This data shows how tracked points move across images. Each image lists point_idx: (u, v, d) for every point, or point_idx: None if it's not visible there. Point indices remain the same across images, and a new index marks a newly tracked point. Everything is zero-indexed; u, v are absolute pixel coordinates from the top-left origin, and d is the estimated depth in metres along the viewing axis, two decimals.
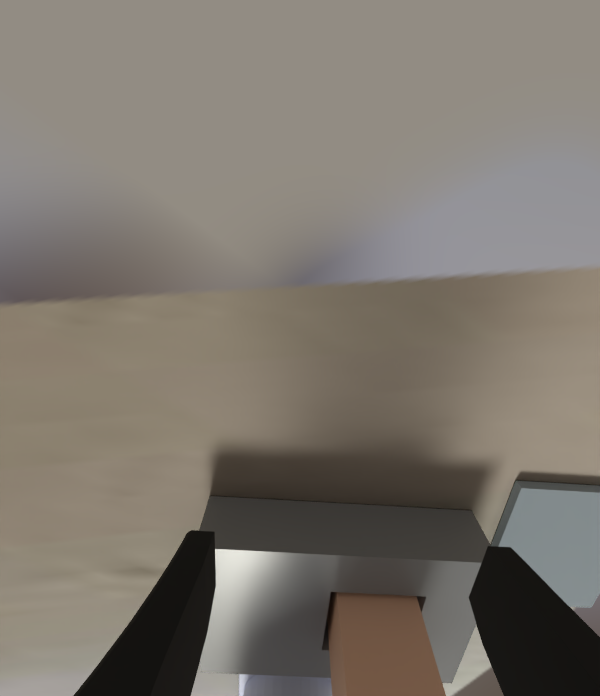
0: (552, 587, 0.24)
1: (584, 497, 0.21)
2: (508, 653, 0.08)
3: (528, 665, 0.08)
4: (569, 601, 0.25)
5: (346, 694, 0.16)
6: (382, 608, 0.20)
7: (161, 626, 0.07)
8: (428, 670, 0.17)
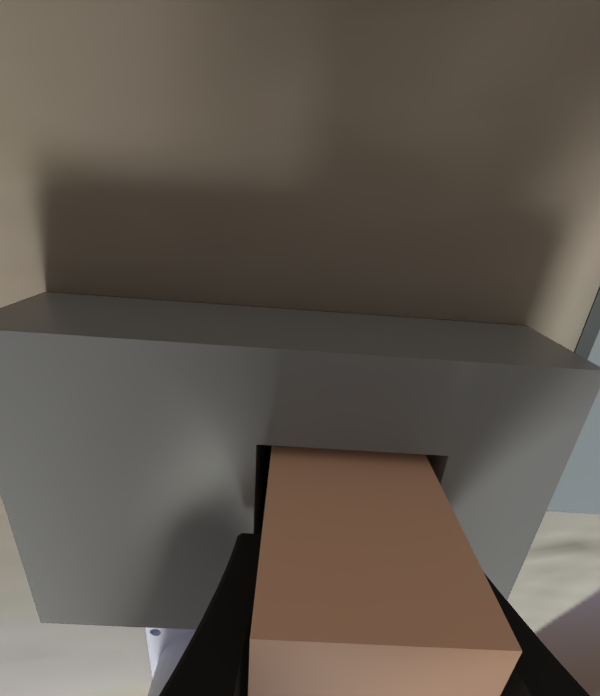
0: None
1: None
2: None
3: None
4: None
5: (252, 627, 0.06)
6: (360, 476, 0.10)
7: (231, 629, 0.07)
8: (463, 578, 0.07)
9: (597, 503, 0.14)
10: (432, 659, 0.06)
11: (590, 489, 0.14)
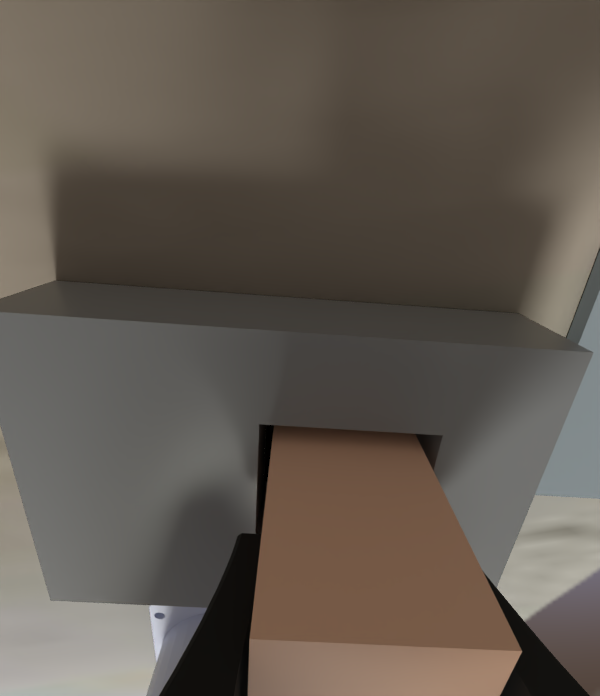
0: None
1: None
2: None
3: None
4: None
5: (252, 627, 0.06)
6: (360, 476, 0.10)
7: (231, 629, 0.07)
8: (462, 578, 0.07)
9: (588, 487, 0.15)
10: (432, 659, 0.06)
11: (582, 474, 0.15)
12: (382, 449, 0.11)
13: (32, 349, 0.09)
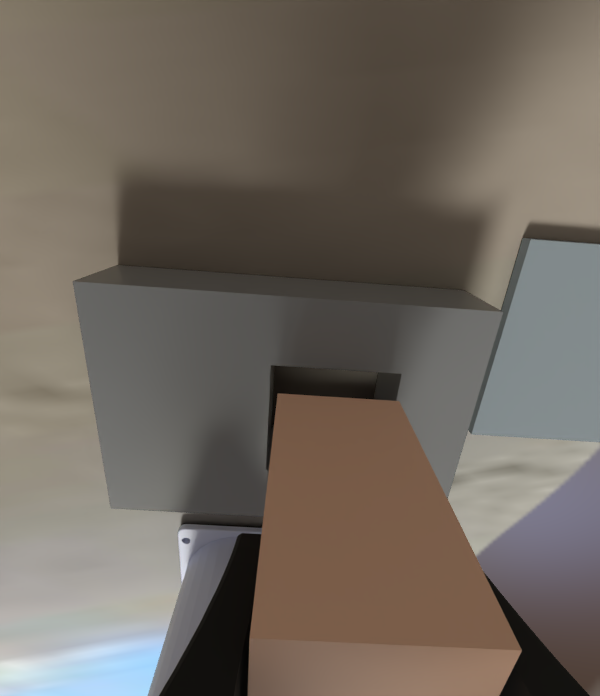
0: (569, 410, 0.19)
1: None
2: None
3: None
4: (590, 433, 0.19)
5: (252, 626, 0.06)
6: (360, 475, 0.10)
7: (231, 629, 0.07)
8: (462, 578, 0.07)
9: (525, 428, 0.19)
10: (432, 658, 0.06)
11: (519, 417, 0.19)
12: (382, 448, 0.11)
13: (114, 309, 0.14)
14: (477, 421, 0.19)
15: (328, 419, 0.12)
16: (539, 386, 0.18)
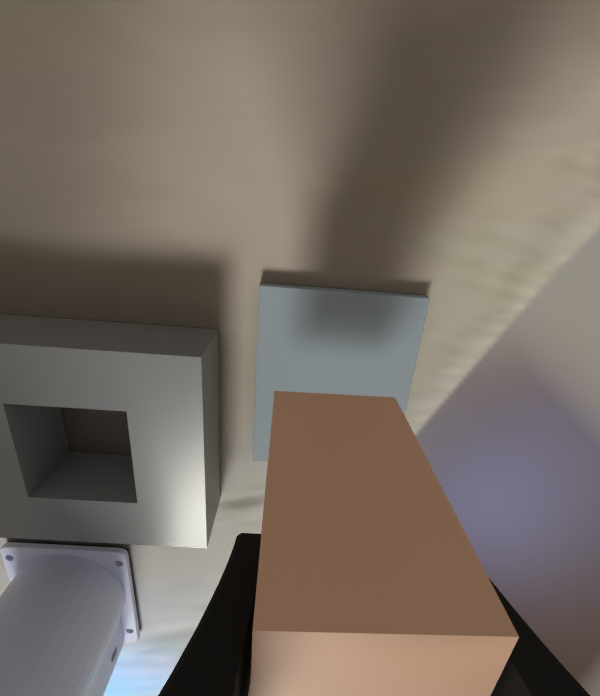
0: None
1: (341, 300, 0.17)
2: None
3: None
4: None
5: (254, 619, 0.06)
6: (357, 470, 0.10)
7: (230, 629, 0.07)
8: (460, 568, 0.07)
9: None
10: (431, 646, 0.06)
11: None
12: (380, 444, 0.11)
13: None
14: (255, 448, 0.20)
15: (325, 416, 0.12)
16: None
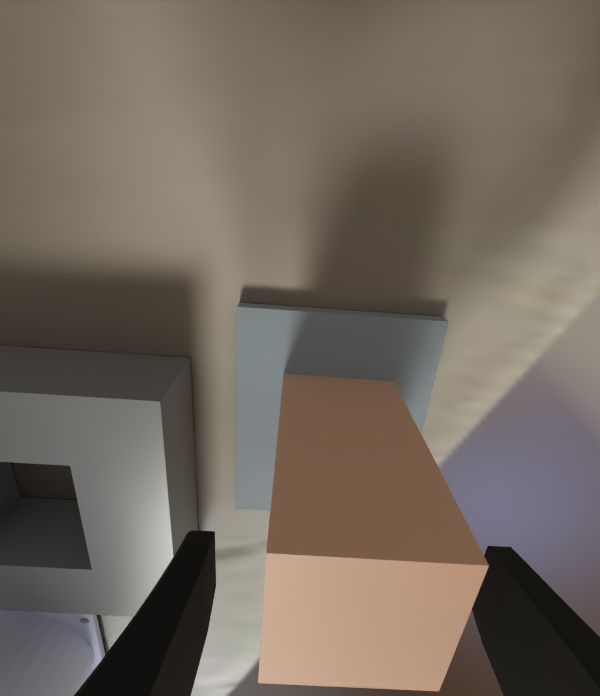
0: None
1: (338, 324, 0.14)
2: (508, 653, 0.08)
3: (528, 665, 0.08)
4: None
5: None
6: (357, 439, 0.11)
7: (161, 626, 0.07)
8: (443, 515, 0.08)
9: None
10: (415, 573, 0.07)
11: None
12: (378, 419, 0.12)
13: None
14: (237, 495, 0.17)
15: (329, 395, 0.13)
16: None
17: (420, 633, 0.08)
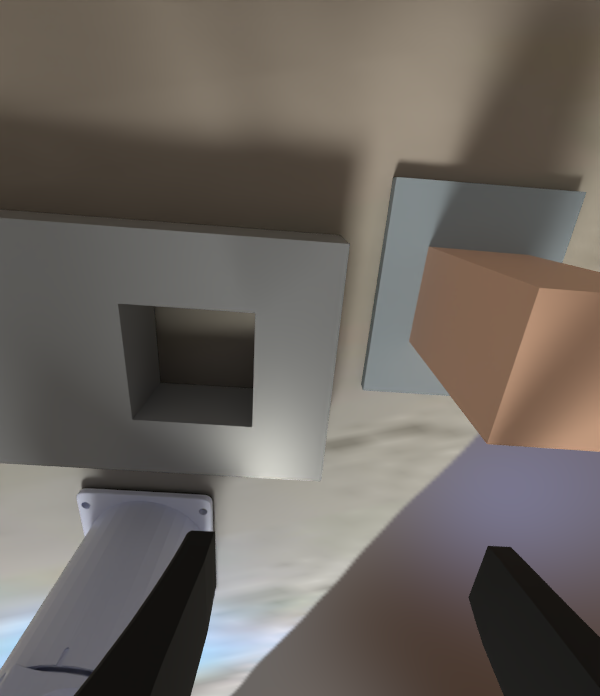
0: None
1: (486, 195, 0.15)
2: (508, 653, 0.08)
3: (528, 665, 0.08)
4: None
5: (532, 290, 0.09)
6: (538, 267, 0.12)
7: (161, 626, 0.07)
8: None
9: (417, 384, 0.19)
10: None
11: (410, 372, 0.18)
12: (541, 263, 0.13)
13: None
14: (367, 376, 0.18)
15: (483, 254, 0.15)
16: None
17: None
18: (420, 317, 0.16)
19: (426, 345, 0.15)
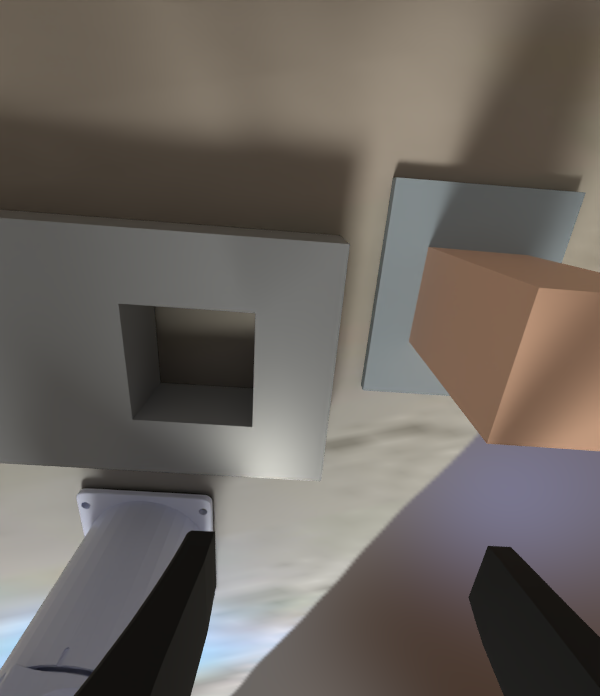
0: None
1: (485, 195, 0.15)
2: (508, 653, 0.08)
3: (528, 665, 0.08)
4: None
5: (531, 290, 0.09)
6: (537, 267, 0.12)
7: (161, 626, 0.07)
8: None
9: (417, 384, 0.19)
10: None
11: (409, 372, 0.18)
12: (541, 263, 0.13)
13: None
14: (367, 376, 0.18)
15: (483, 254, 0.15)
16: None
17: None
18: (420, 317, 0.16)
19: (426, 345, 0.15)
